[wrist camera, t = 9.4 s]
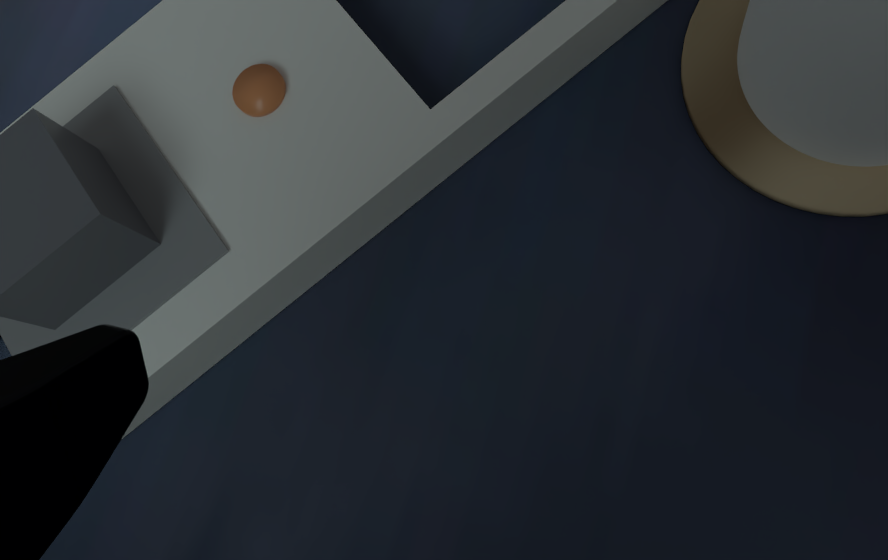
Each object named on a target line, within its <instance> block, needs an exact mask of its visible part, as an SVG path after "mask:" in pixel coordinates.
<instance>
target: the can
mask: <svg viewBox="0 0 888 560" xmlns="http://www.w3.org/2000/svg"><path fill="white" fill-rule="evenodd" d="M737 67H738V75H739V80H740V84H741V87H742V90H743V93H744V95H745V98H746V100H747V102H748V104H749V105H750V107H751V109H752V110H753V112H754V113H755V115H756V116H757V118H758V119H759V120H760V121H761V122H762V124H763V125H764V126H765V127H766V128H767V129H768V130H769V131H770V132H771V133H773V134H774V135H775V136H776V137H777V138H779V139H780V140H781V141H783V142H784V143H786V144H787V145H789V146H790V147H792V148H794V149H796V150H797V151H799V152H801V153H804V154H806V155H808V156H811V157H813V158H816V159H819V160H822V161H826V162H830V163H834V164H839V165H846V166H858V167H872V166H884V165H888V0H750V1H749V4H748V8H747V12H746V15H745V19H744V22H743V26H742V30H741V34H740V38H739V44H738V52H737Z"/></svg>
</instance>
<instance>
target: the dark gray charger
mask: <svg viewBox="0 0 888 560" xmlns="http://www.w3.org/2000/svg"><path fill="white" fill-rule="evenodd" d="M160 245H161V243H160V242H159V240H158V239H157V237H156V236H155V234H154V233H153V231H152V230H151V228H150V227H149V225H148V224H147V222H146V221H145V219H144V218H143V216H142V215H141V213H140V211H139V210H138V208H137V207H136V205H135V204H134V202H133V201H132V199H131V198H130V196H129V195H128V193H127V192H126V190H125V189H124V187H123V186H122V184H121V183H120V181H119V179H118V178H117V176H116V175H115V173H114V172H113V170H112V169H111V167H110V166H109V164H108V163H107V161H106V160H105V158H104V157H103V155H102V154H101V152H100V151H99V149H98V148H96V147H95V146H93V145H92V144H90V143H88V142H87V141H85V140H84V139H82V138H80V137H79V136H77V135H75V134H74V133H72V132H71V131H69V130H67V129H66V128H64V127H63V126H61V125H59V124H58V123H56V122H55V121H53V120H51V119H50V118H48V117H47V116H45V115H43V114H42V113H40V112H39V111H37V110H35V109H34V108H32V109H31V110H30V111H29V112H28V113H26V114H25V115H24V116H23V117H21V118H20V119H19V120H18V121H17V122H15V123H14V124H13V125H12V126H10V127H9V128H8V129H7V130H5V131H4V132H3V133H2V134H1V135H0V317H4V318H8V319H12V320H16V321H20V322H24V323H28V324H33V325H37V326H41V327H45V328H49V329H53V330H56V329H57V328H58V327H59V326H61V325H62V324H63V323H64V322H66V321H67V320H68V319H69V318H70V317H72V316H73V315H74V314H75V313H77V312H78V311H79V310H80V309H82V308H83V307H84V306H85V305H87V304H88V303H89V302H90V301H91V300H93V299H94V298H95V297H96V296H98V295H99V294H100V293H101V292H103V291H104V290H105V289H106V288H108V287H109V286H110V285H111V284H113V283H114V282H115V281H116V280H117V279H119V278H120V277H121V276H122V275H124V274H125V273H126V272H127V271H129V270H130V269H131V268H132V267H134V266H135V265H136V264H137V263H139V262H140V261H141V260H142V259H143V258H145V257H146V256H147V255H148V254H150V253H151V252H152V251H153V250H155V249H156V248H157V247H158V246H160Z"/></svg>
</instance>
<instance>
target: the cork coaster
mask: <svg viewBox="0 0 888 560" xmlns="http://www.w3.org/2000/svg"><path fill="white" fill-rule="evenodd" d="M749 1H750V0H700V1H699V2H698V4H697V7H696V9H695V11H694V13H693V15H692V17H691V19H690V22H689V26H688V29H687V32H686V35H685V40H684V46H683V53H682V59H681V84H682V91H683V97H684V101H685V105H686V108H687V111H688V115H689V117H690V119H691V121H692V124H693V126H694V128H695V130H696V132H697V134H698V136H699V137H700V139H701V140H702V142H703V143H704V145H705V146H706V148H707V149H708V151H709V152H710V153H711V154H712V155H713V156H714V157H715V159H716V160H717V161H718V162H719V163H720V164H721V165H722V166H723V167H724V168H725V169H726V170H727V171H729V172H730V173H731V174H732V175H733V176H734V177H735V178H736V179H738V180H739V181H741V182H742V183H744V184H745V185H747V186H748V187H750V188H751V189H753V190H754V191H756V192H758V193H760V194H762V195H764V196H766V197H768V198H770V199H772V200H774V201H776V202H779V203H782V204H785V205H787V206H790V207H793V208H796V209H800V210H804V211H808V212H813V213H817V214H824V215H833V216H853V217H865V216H874V215H883V214H888V165H884V166H872V167H858V166H846V165H839V164H834V163H830V162H826V161H822V160H819V159H816V158H813V157H811V156H808V155H806V154H804V153H801V152H799V151H797V150H796V149H794V148H792V147H790V146H789V145H787V144H786V143H784V142H783V141H781V140H780V139H779V138H777V137H776V136H775V135H774V134H773V133H771V132H770V131H769V130H768V129H767V128H766V127H765V126H764V125H763V124H762V122H761V121H760V120H759V119H758V118H757V116H756V115H755V113H754V112H753V110H752V109H751V107H750V105H749V104H748V102H747V100H746V98H745V95H744V93H743V90H742V87H741V84H740V80H739V75H738V67H737V52H738V44H739V38H740V34H741V30H742V26H743V22H744V19H745V15H746V12H747V8H748V4H749Z"/></svg>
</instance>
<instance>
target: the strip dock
mask: <svg viewBox="0 0 888 560" xmlns="http://www.w3.org/2000/svg"><path fill="white" fill-rule="evenodd" d="M666 1H668V0H566V1H564V2H563V3H562V4H561V5H559V6H558V7H557V8H556V9H554V10H553V11H552V12H551V13H550V14H548V15H547V16H546V17H545V18H543V19H542V20H541V21H540V22H538V23H537V24H536V25H535V26H533V27H532V28H531V29H530V30H528V31H527V32H526V33H525V34H523V35H522V36H521V37H520V38H519V39H517V40H516V41H515V42H514V43H512V44H511V45H510V46H509V47H507V48H506V49H505V50H504V51H502V52H501V53H500V54H499V55H497V56H496V57H495V58H494V59H492V60H491V61H490V62H489V63H487V64H486V65H485V66H484V67H483V68H481V69H480V70H479V71H478V72H476V73H475V74H474V75H473V76H471V77H470V78H469V79H468V80H466V81H465V82H464V83H463V84H461V85H460V86H459V87H458V88H456V89H455V90H454V91H453V92H452V93H450V94H449V95H448V96H447V97H445V98H444V99H443V100H442V101H440V102H439V103H438V104H437V105H435V106H434V107H433V108H432V109H429V107H428V106H427V105H426V104H425V103H424V102H423V100H422V99H421V98H420V97H419V96H418V95H417V93H416V92H415V91H414V90H413V89H412V88H411V87H410V85H409V84H408V83H407V82H406V81H405V80H404V78H403V77H402V76H401V75H400V74H399V73H398V71H397V70H396V69H395V68H394V67H393V66H392V64H391V63H390V62H389V61H388V60H387V59H386V58H385V56H384V55H383V54H382V53H381V52H380V51H379V49H378V48H377V47H376V46H375V45H374V44H373V42H372V41H371V40H370V39H369V38H368V37H367V35H366V34H365V33H364V32H363V31H362V30H361V28H360V27H359V26H358V25H357V24H356V23H355V22H354V20H353V19H352V18H351V17H350V16H349V15H348V13H347V12H346V11H345V10H344V9H343V8H342V6H341V5H340V4H339V3H338V2H337V1H336V0H163V1H161V2H160V3H159V4H158V5H156V6H155V7H154V8H153V9H152V10H150V11H149V12H148V13H147V14H145V15H144V16H143V17H142V18H140V19H139V20H138V21H137V22H136V23H134V24H133V25H132V26H131V27H129V28H128V29H127V30H126V31H125V32H123V33H122V34H121V35H120V36H118V37H117V38H116V39H115V40H113V41H112V42H111V43H110V44H109V45H107V46H106V47H105V48H104V49H102V50H101V51H100V52H99V53H98V54H96V55H95V56H94V57H93V58H91V59H90V60H89V61H88V62H87V63H85V64H84V65H83V66H82V67H80V68H79V69H78V70H77V71H75V72H74V73H73V74H72V75H71V76H69V77H68V78H67V79H66V80H64V81H63V82H62V83H61V84H60V85H58V86H57V87H56V88H55V89H53V90H52V91H51V92H50V93H48V94H47V95H46V96H45V97H44V98H42V99H41V100H40V101H39V102H37V103H36V104H35V105H34V106H33V107H31V108H30V109H29V110H28V111H26V112H25V113H24V114H23V115H21V116H20V117H19V118H18V119H17V120H15V121H14V122H13V123H12V124H10V125H9V126H8V127H7V128H6V129H4V130H3V131H2V132H1V133H0V135H1V134H2V133H3V132H4V131H5V130H7V129H8V128H9V127H10V126H12V125H13V124H14V123H15V122H17V121H18V120H19V119H20V118H21V117H23V116H24V115H25V114H26V113H28V112H29V111H30V110H31V109H32V108H34V109H35V110H37V111H39V112H40V113H42V114H43V115H45V116H47V117H48V118H50V119H51V120H53V121H55V122H56V123H58V124H59V125H61V126H63V127H64V128H66V129H67V130H69V131H71V132H72V133H74V134H75V135H77V136H79V137H80V138H82V139H84V140H85V141H87V142H88V143H90V144H92V145H93V146H95V147H96V148H98V149H99V151H100V152H101V154H102V155H103V157H104V158H105V160H106V161H107V163H108V164H109V166H110V167H111V169H112V170H113V172H114V173H115V175H116V176H117V178H118V179H119V181H120V183H121V184H122V186H123V187H124V189H125V190H126V192H127V193H128V195H129V196H130V198H131V199H132V201H133V202H134V204H135V205H136V207H137V208H138V210H139V211H140V213H141V215H142V216H143V218H144V219H145V221H146V222H147V224H148V225H149V227H150V228H151V230H152V231H153V233H154V234H155V236H156V237H157V239H158V240H159V242H160V243H161V245H160V246H158V247H157V248H156V249H155V250H153V251H152V252H151V253H150V254H148V255H147V256H146V257H145V258H143V259H142V260H141V261H140V262H139V263H137V264H136V265H135V266H134V267H132V268H131V269H130V270H129V271H127V272H126V273H125V274H124V275H122V276H121V277H120V278H119V279H117V280H116V281H115V282H114V283H113V284H111V285H110V286H109V287H108V288H106V289H105V290H104V291H103V292H101V293H100V294H99V295H98V296H96V297H95V298H94V299H93V300H91V301H90V302H89V303H88V304H87V305H85V306H84V307H83V308H82V309H80V310H79V311H78V312H77V313H75V314H74V315H73V316H72V317H70V318H69V319H68V320H67V321H66V322H64V323H63V324H62V325H61V326H59V327H58V328H57V329H56V330H53V329H49V328H45V327H41V326H37V325H33V324H28V323H24V322H20V321H16V320H12V319H8V318H4V317H0V335H1V337H2V339H3V340H4V342H5V344H6V346H7V348H8V350H9V351H10V353H11V355H12V356H14V355H16V354H19V353H22V352H25V351H28V350H30V349H33V348H36V347H39V346H41V345H44V344H47V343H50V342H53V341H55V340H58V339H61V338H64V337H67V336H69V335H72V334H75V333H78V332H80V331H83V330H86V329H89V328H92V327H94V326H97V325H101V324H109V325H113V326H117V327H121V328H125V329H129V330H131V331H133V332H135V334H136V335H137V336H138V338H139V341H140V345H141V349H142V354H143V358H144V362H145V367H146V371H147V375H148V381H149V388H148V393H147V396H146V399H145V401H144V403H143V405H142V406H141V408H140V409H139V411H138V413H137V414H136V416H135V418H134V419H133V421H132V422H131V424H130V426H129V427H128V429H127V431H126V432H125V434H124V435H123V437H122V439H123V438H124V437H125V436H126V435H128V434H129V433H130V432H131V431H133V430H134V429H135V428H136V427H138V426H139V425H140V424H141V423H143V422H144V421H145V420H146V419H148V418H149V417H150V416H151V415H153V414H154V413H155V412H156V411H158V410H159V409H160V408H161V407H163V406H164V405H165V404H166V403H168V402H169V401H170V400H171V399H172V398H174V397H175V396H176V395H177V394H179V393H180V392H181V391H182V390H184V389H185V388H186V387H187V386H189V385H190V384H191V383H192V382H194V381H195V380H196V379H197V378H199V377H200V376H201V375H202V374H204V373H205V372H206V371H207V370H209V369H210V368H211V367H212V366H214V365H215V364H216V363H217V362H219V361H220V360H221V359H222V358H224V357H225V356H226V355H227V354H228V353H230V352H231V351H232V350H233V349H235V348H236V347H237V346H238V345H240V344H241V343H242V342H243V341H245V340H246V339H247V338H248V337H250V336H251V335H252V334H253V333H255V332H256V331H257V330H258V329H260V328H261V327H262V326H263V325H265V324H266V323H267V322H268V321H270V320H271V319H272V318H273V317H275V316H276V315H277V314H278V313H279V312H281V311H282V310H283V309H284V308H286V307H287V306H288V305H289V304H291V303H292V302H293V301H294V300H296V299H297V298H298V297H299V296H301V295H302V294H303V293H304V292H306V291H307V290H308V289H309V288H311V287H312V286H313V285H314V284H316V283H317V282H318V281H319V280H321V279H322V278H323V277H324V276H326V275H327V274H328V273H329V272H330V271H332V270H333V269H334V268H335V267H337V266H338V265H339V264H340V263H342V262H343V261H344V260H345V259H347V258H348V257H349V256H350V255H352V254H353V253H354V252H355V251H357V250H358V249H359V248H360V247H362V246H363V245H364V244H365V243H367V242H368V241H369V240H370V239H372V238H373V237H374V236H375V235H377V234H378V233H379V232H380V231H382V230H383V229H384V228H385V227H386V226H388V225H389V224H390V223H391V222H393V221H394V220H395V219H396V218H398V217H399V216H400V215H401V214H403V213H404V212H405V211H406V210H408V209H409V208H410V207H411V206H413V205H414V204H415V203H416V202H418V201H419V200H420V199H421V198H423V197H424V196H425V195H426V194H428V193H429V192H430V191H431V190H433V189H434V188H435V187H436V186H437V185H439V184H440V183H441V182H442V181H444V180H445V179H446V178H447V177H449V176H450V175H451V174H452V173H454V172H455V171H456V170H457V169H459V168H460V167H461V166H462V165H464V164H465V163H466V162H467V161H469V160H470V159H471V158H472V157H474V156H475V155H476V154H477V153H479V152H480V151H481V150H482V149H484V148H485V147H486V146H487V145H488V144H490V143H491V142H492V141H493V140H495V139H496V138H497V137H498V136H500V135H501V134H502V133H503V132H505V131H506V130H507V129H508V128H510V127H511V126H512V125H513V124H515V123H516V122H517V121H518V120H520V119H521V118H522V117H523V116H525V115H526V114H527V113H528V112H530V111H531V110H532V109H533V108H535V107H536V106H537V105H538V104H540V103H541V102H542V101H543V100H544V99H546V98H547V97H548V96H549V95H551V94H552V93H553V92H554V91H556V90H557V89H558V88H559V87H561V86H562V85H563V84H564V83H566V82H567V81H568V80H569V79H571V78H572V77H573V76H574V75H576V74H577V73H578V72H579V71H581V70H582V69H583V68H584V67H586V66H587V65H588V64H589V63H591V62H592V61H593V60H594V59H595V58H597V57H598V56H599V55H600V54H602V53H603V52H604V51H605V50H607V49H608V48H609V47H610V46H612V45H613V44H614V43H615V42H617V41H618V40H619V39H620V38H622V37H623V36H624V35H625V34H627V33H628V32H629V31H630V30H632V29H633V28H634V27H635V26H637V25H638V24H639V23H640V22H642V21H643V20H644V19H645V18H646V17H648V16H649V15H650V14H651V13H653V12H654V11H655V10H656V9H658V8H659V7H660V6H661V5H663V4H664V3H665V2H666Z"/></svg>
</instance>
